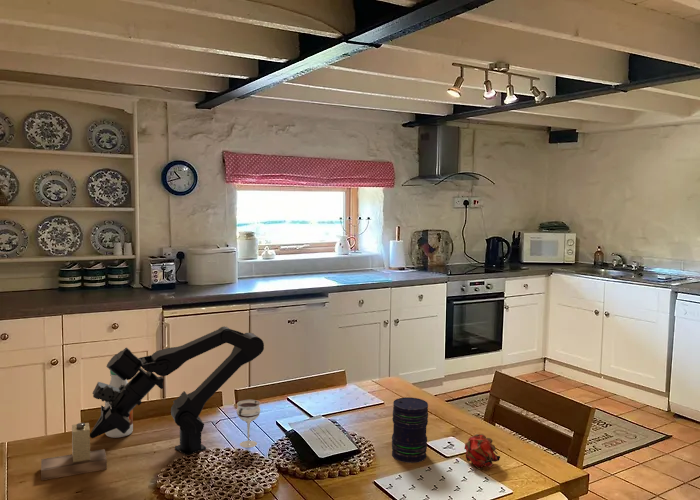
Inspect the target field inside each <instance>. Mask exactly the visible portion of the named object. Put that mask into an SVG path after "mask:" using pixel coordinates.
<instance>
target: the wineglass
mask: <svg viewBox="0 0 700 500" xmlns="http://www.w3.org/2000/svg"><path fill="white" fill-rule="evenodd" d="M236 405H237V408H236V415H237V417H238V419H240V420H242V421H243V422H245V423H246V427H247V428H246V429H247V430H246V431H247V440H243V441H241V442H240V443H239V446H240V447H241V448H245V449H247V448H254V447H256V446H257V445H258V442H257V441H255V440H250V433H251V432H250V431H251V430H250V427H251V423H252V422H253V421H255V420H257V419H258V418H259V416H260V413H261V407H260V405H261V401H260V400H256V399H244V400H243V399H242V400H240V401H238V402H237V403H236Z"/></svg>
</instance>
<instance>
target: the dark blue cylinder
mask: <svg viewBox="0 0 700 500" xmlns="http://www.w3.org/2000/svg"><path fill="white" fill-rule="evenodd" d="M392 405H393V406H392V407H393V409H392V423H393V429H392V430H393V431H392V436H391V449H392V451H391V456H392V458H394V459H395V460H396V461H399V462H402V463H407V464H414V463H420V462H423V461H424V460H426V459H427V449H428V436H427V426H428V423H429V419H428V418H429V403H428V401H426V400H424V399H421V398H418V397H405V396H404V397H399V398H396V399H394V400H393V403H392Z"/></svg>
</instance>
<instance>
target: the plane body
mask: <svg viewBox="0 0 700 500" xmlns="http://www.w3.org/2000/svg"><path fill="white" fill-rule="evenodd" d="M107 463H108V460H107V454H106V449H104V448H103V449H97V450H90V460H86V461H79V462H73V455H72V453H71V454H66V455H60V456H54V457H46V458H42V459H41V464H40V466H41V467H40V481H45V480H51V479H57V478H64V477H68V476H69V477H70V476H75V475H80V474H86V473H91V472H92V473H93V472H98V471H104V470H108V469H107V468H108V465H107Z"/></svg>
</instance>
